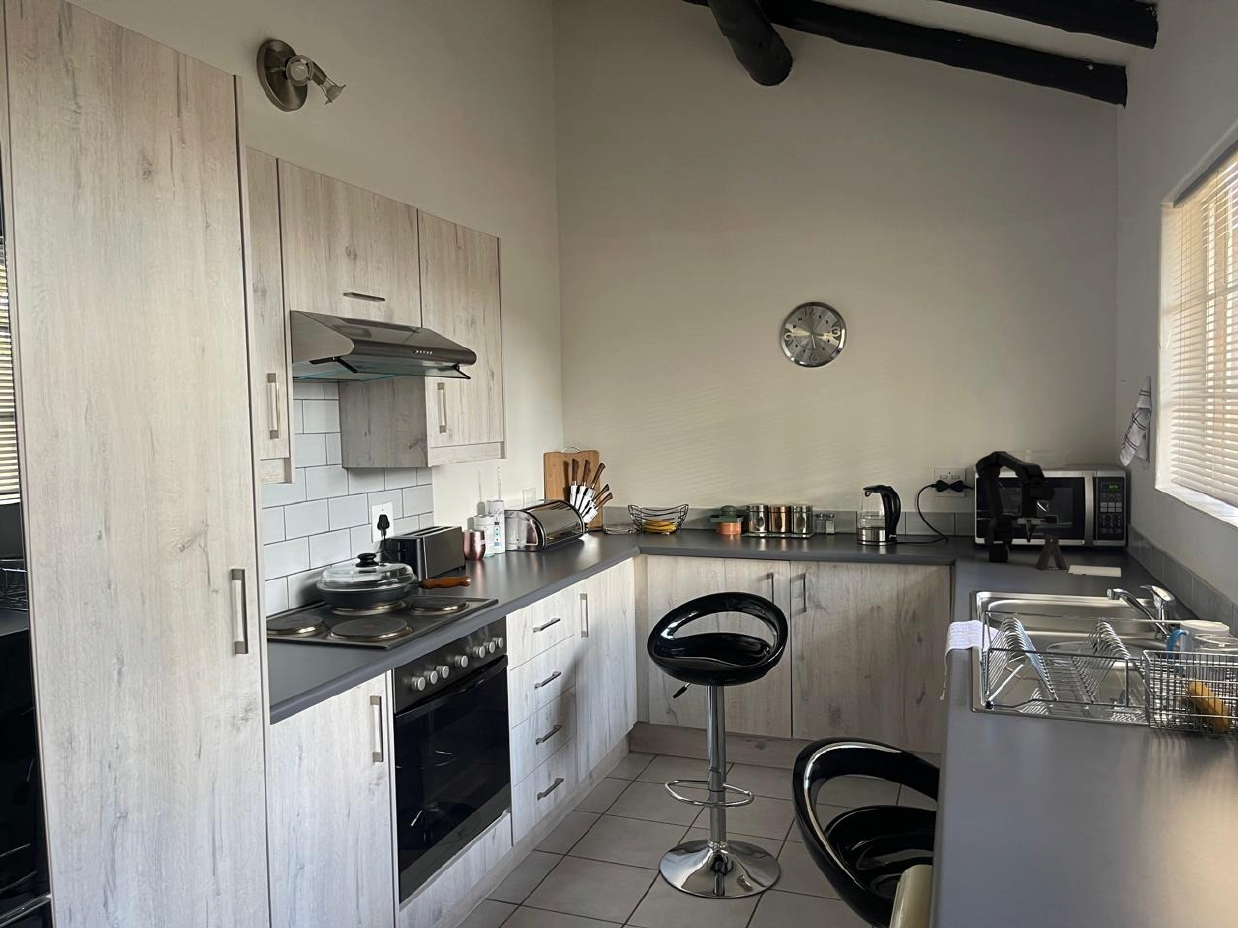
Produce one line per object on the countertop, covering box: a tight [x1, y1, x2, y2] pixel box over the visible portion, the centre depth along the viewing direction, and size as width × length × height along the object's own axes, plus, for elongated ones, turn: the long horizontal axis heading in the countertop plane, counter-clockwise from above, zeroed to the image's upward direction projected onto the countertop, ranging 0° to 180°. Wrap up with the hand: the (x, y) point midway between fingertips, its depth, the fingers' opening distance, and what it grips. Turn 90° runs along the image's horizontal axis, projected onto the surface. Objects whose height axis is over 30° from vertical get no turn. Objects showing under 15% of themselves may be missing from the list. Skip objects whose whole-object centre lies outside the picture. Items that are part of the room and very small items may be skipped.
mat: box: [1068, 564, 1122, 578], centre depth 340 cm, size 16×18×1 cm
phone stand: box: [1035, 534, 1069, 571], centre depth 347 cm, size 9×6×12 cm, turn 84°
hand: (1028, 542), depth 350 cm, fingers closed
